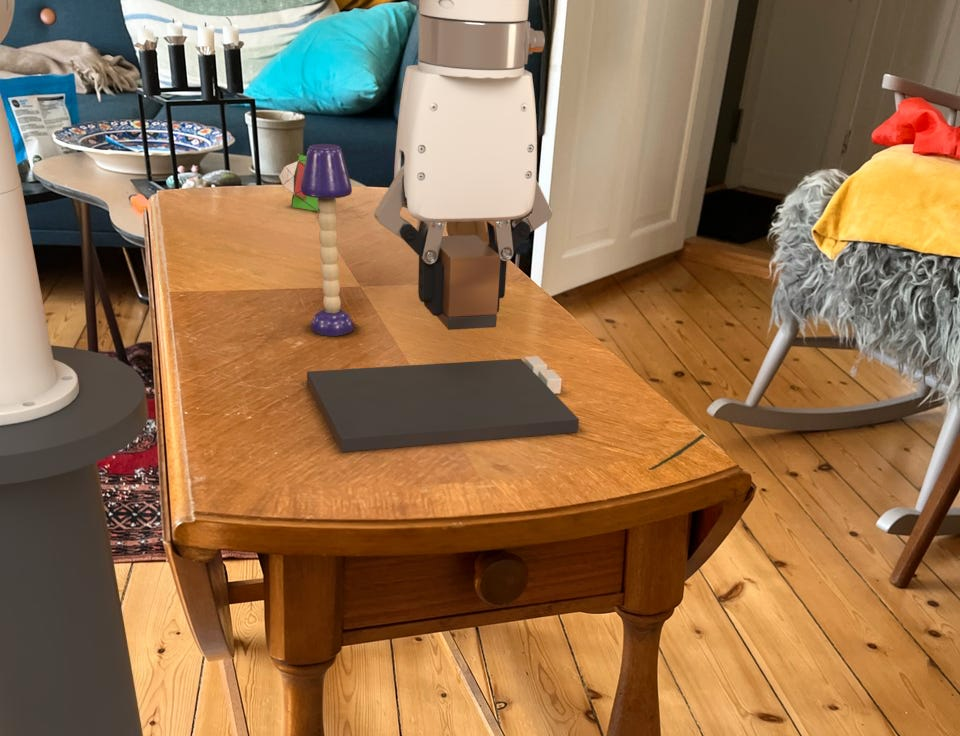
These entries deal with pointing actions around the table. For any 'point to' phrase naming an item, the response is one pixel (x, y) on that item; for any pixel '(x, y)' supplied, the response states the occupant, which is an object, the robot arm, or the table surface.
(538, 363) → the chalk piece
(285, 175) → the geometric puzzle
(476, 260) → the eraser
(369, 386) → the board
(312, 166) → the toy lamp
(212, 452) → the table surface
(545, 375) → the chalk piece
